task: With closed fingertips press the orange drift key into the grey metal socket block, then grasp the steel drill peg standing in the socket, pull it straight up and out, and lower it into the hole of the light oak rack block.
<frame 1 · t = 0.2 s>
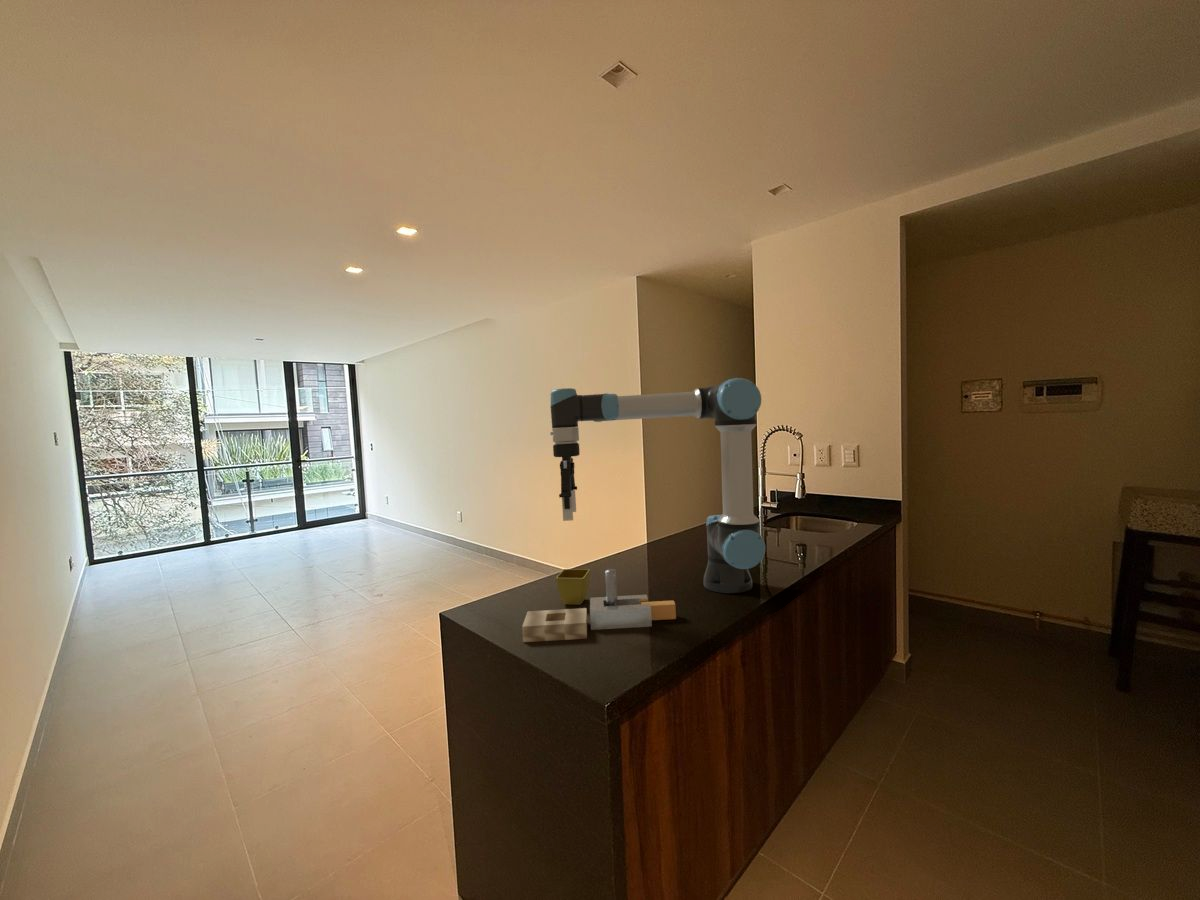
hand: (570, 516, 138), 28 cm above the table, fingers open, 13 cm apart
flower pot: (574, 602, 145), on the table
socket block: (620, 620, 129), on the table
rack block: (556, 631, 124), on the table
drift key: (658, 610, 130), point 2 cm above the table, slide at 0.0 cm
drill peg: (612, 621, 129), resting in socket block
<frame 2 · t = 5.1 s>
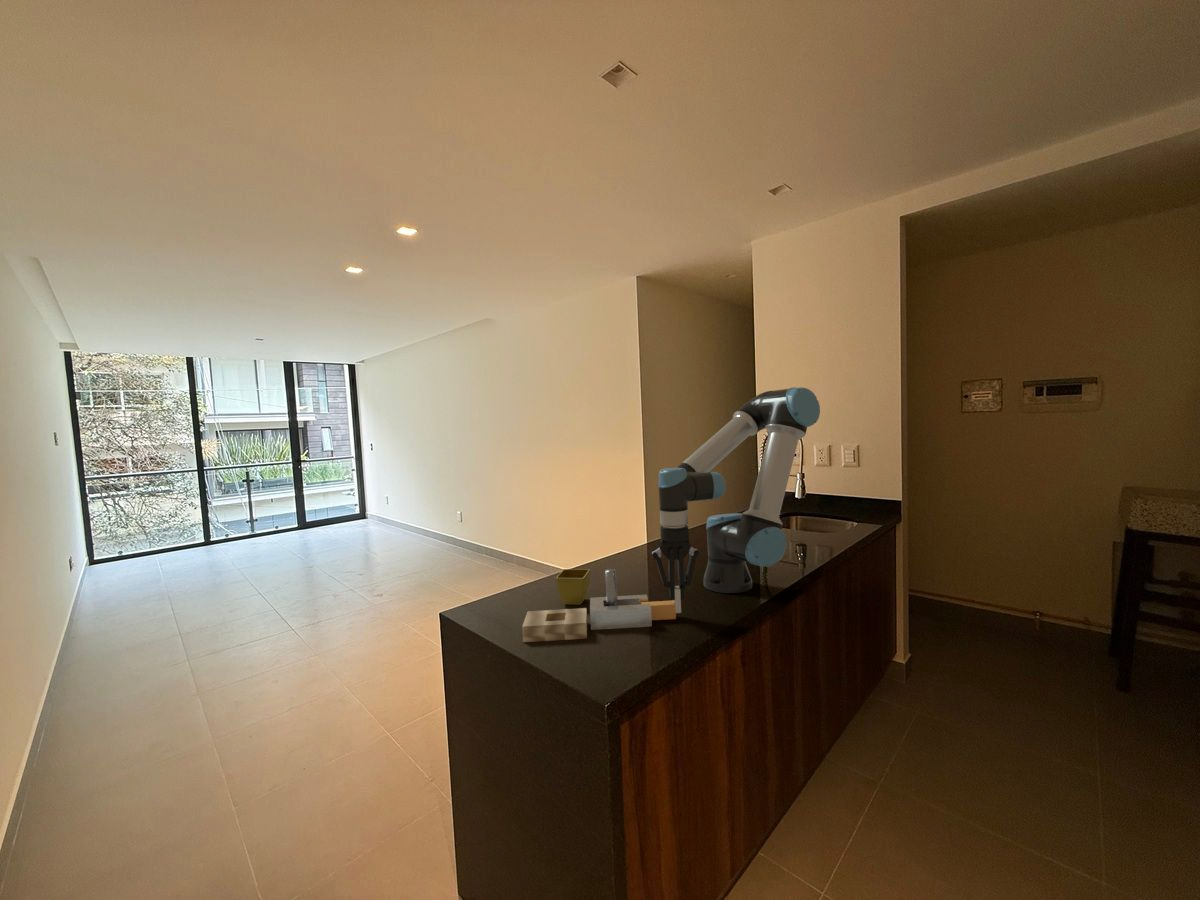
hand: (677, 611, 129), 2 cm above the table, fingers closed
drift key: (658, 610, 130), point 2 cm above the table, slide at 0.0 cm, touching gripper
everything else where it was.
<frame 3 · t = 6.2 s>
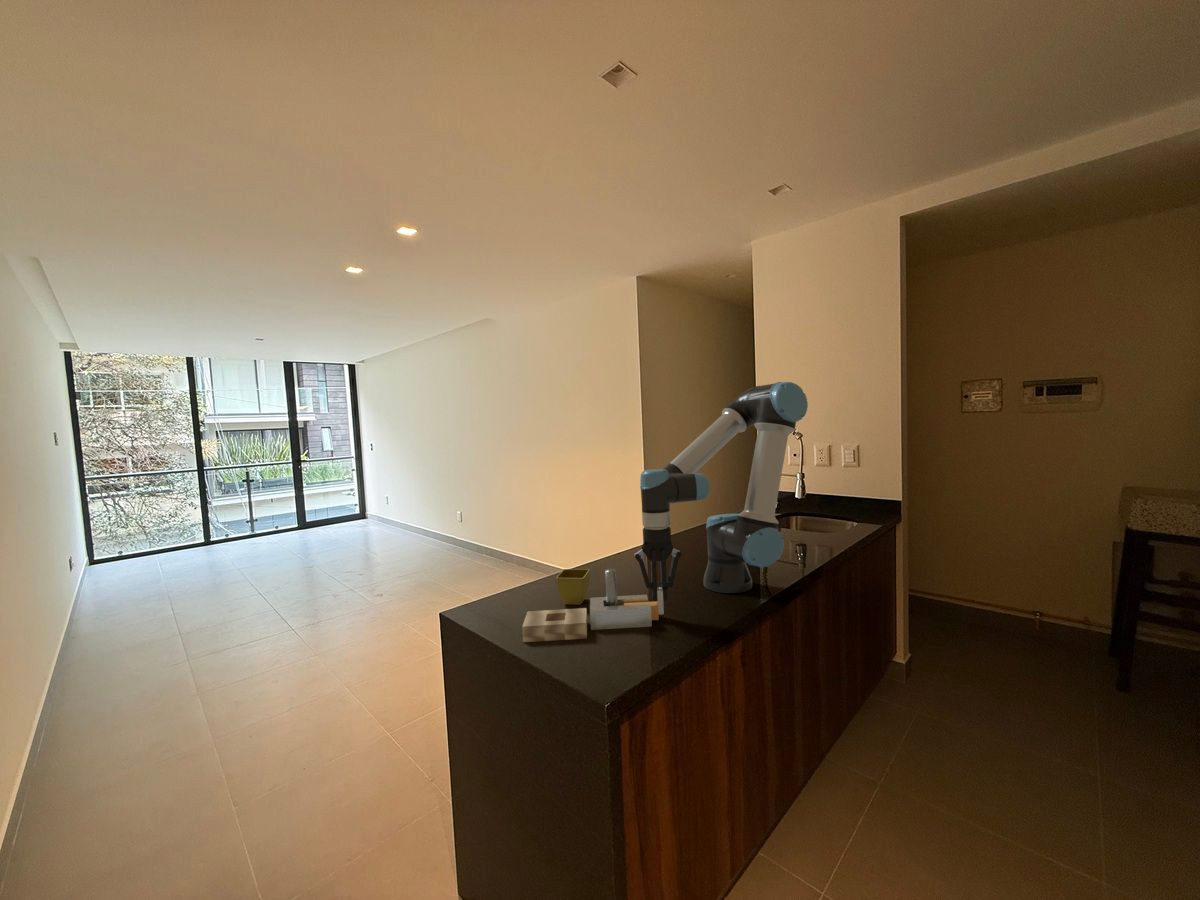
hand: (660, 612, 130), 2 cm above the table, fingers closed
drift key: (641, 611, 129), point 2 cm above the table, slide at 4.7 cm, touching gripper
everything else where it was.
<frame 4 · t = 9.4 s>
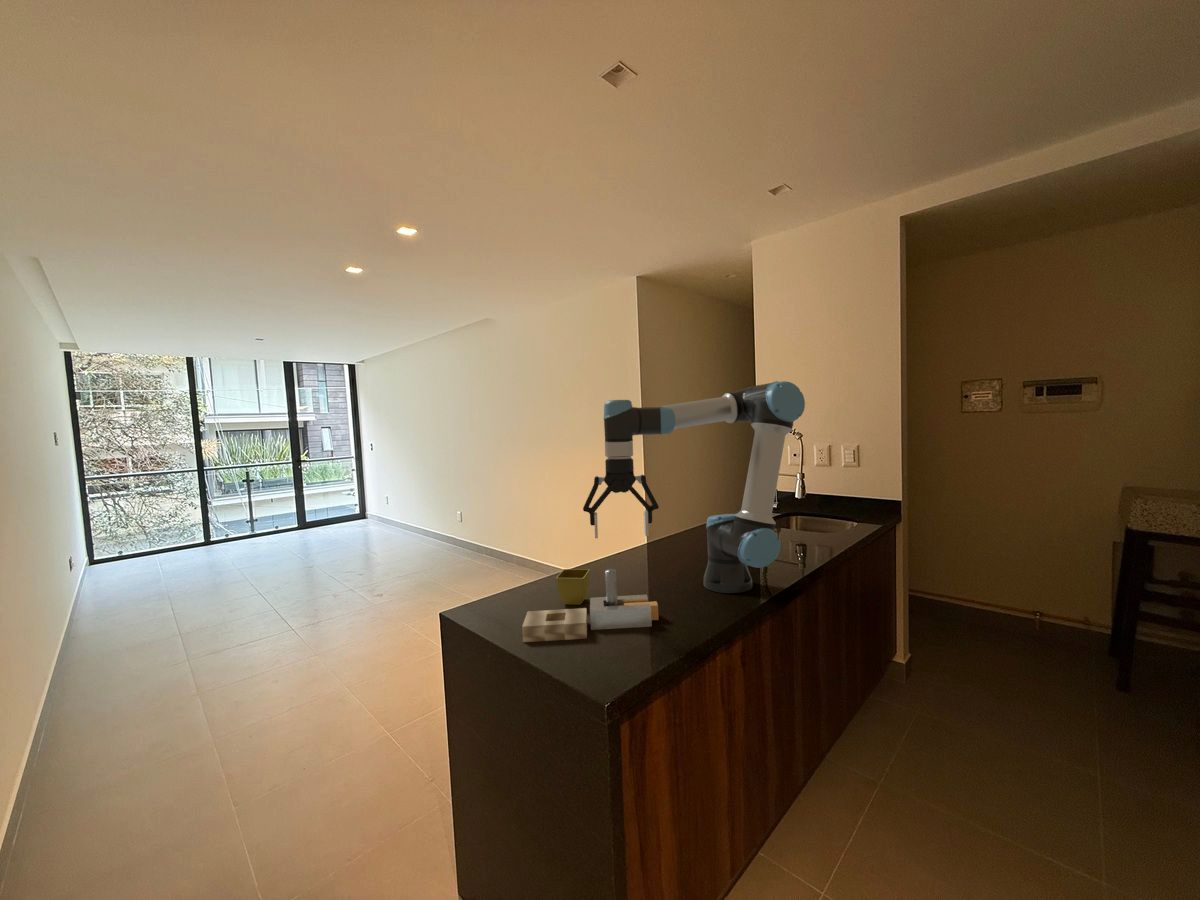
hand: (621, 536, 128), 23 cm above the table, fingers open, 13 cm apart
drift key: (641, 611, 129), point 2 cm above the table, slide at 4.7 cm
everything else where it was.
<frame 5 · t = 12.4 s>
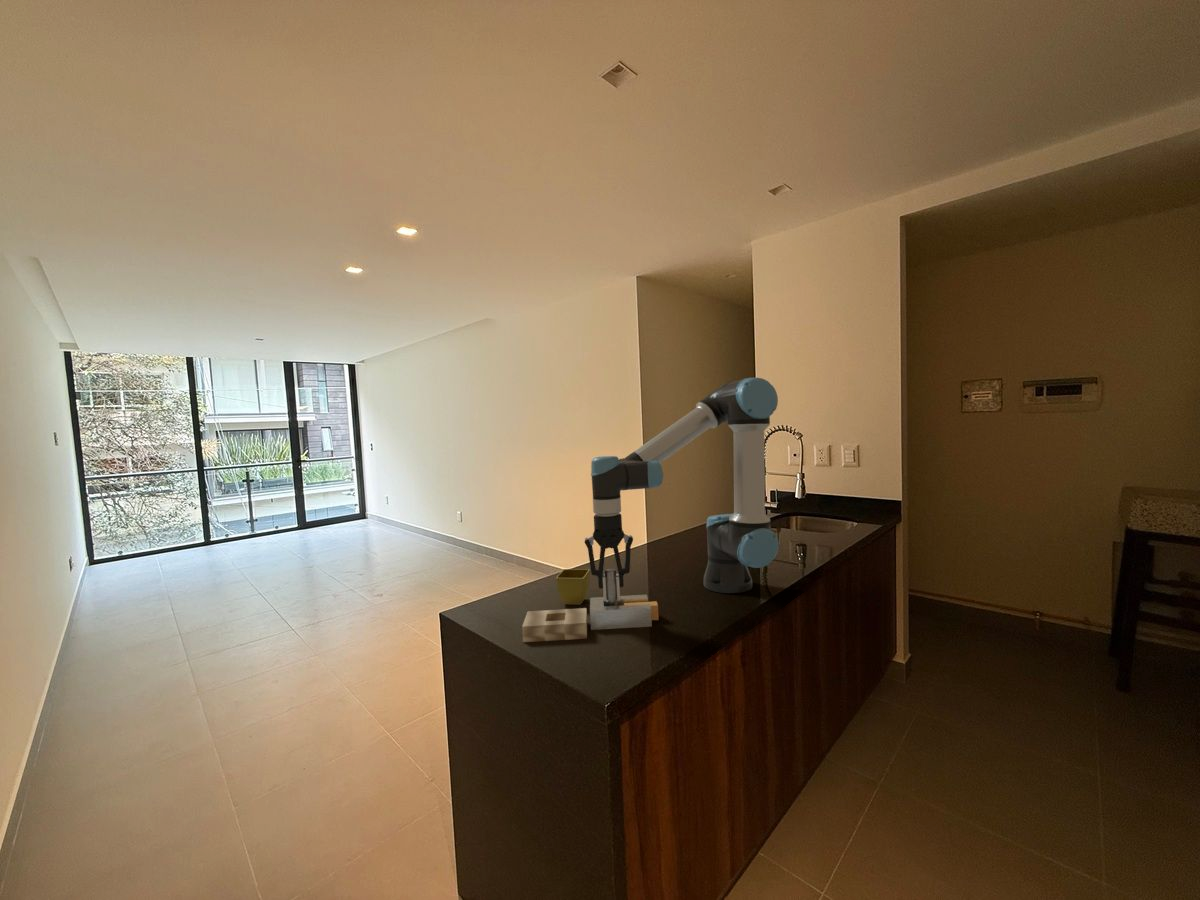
hand: (611, 599, 129), 6 cm above the table, fingers closed on drill peg, 3 cm apart
drill peg: (612, 621, 129), resting in socket block, touching gripper
everything else where it was.
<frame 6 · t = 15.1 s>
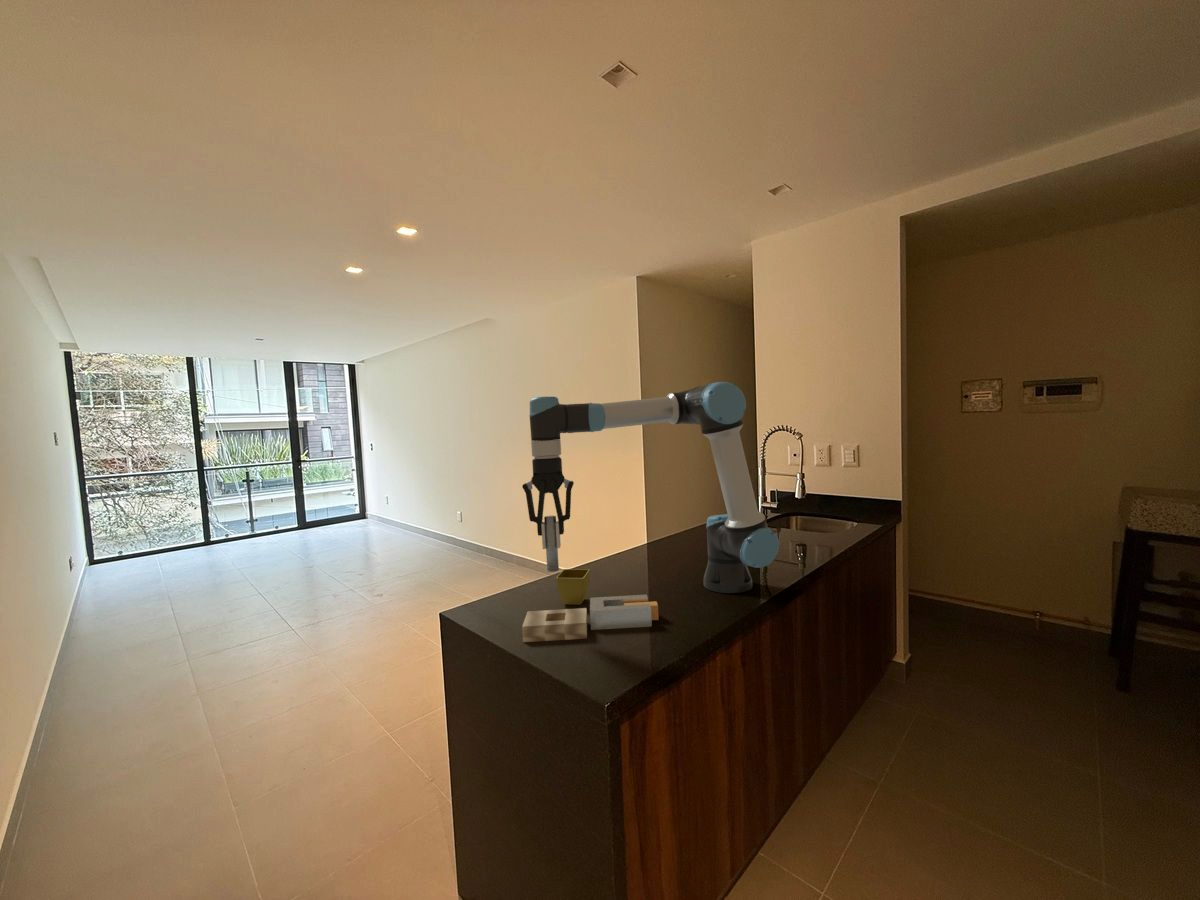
hand: (551, 547, 123), 22 cm above the table, fingers closed on drill peg, 3 cm apart
drill peg: (553, 570, 124), point 16 cm above the table, touching gripper
everything else where it was.
when the fingers open (8 cm above the table, at t = 18.0 s): drill peg drops 1 cm, resting in rack block.
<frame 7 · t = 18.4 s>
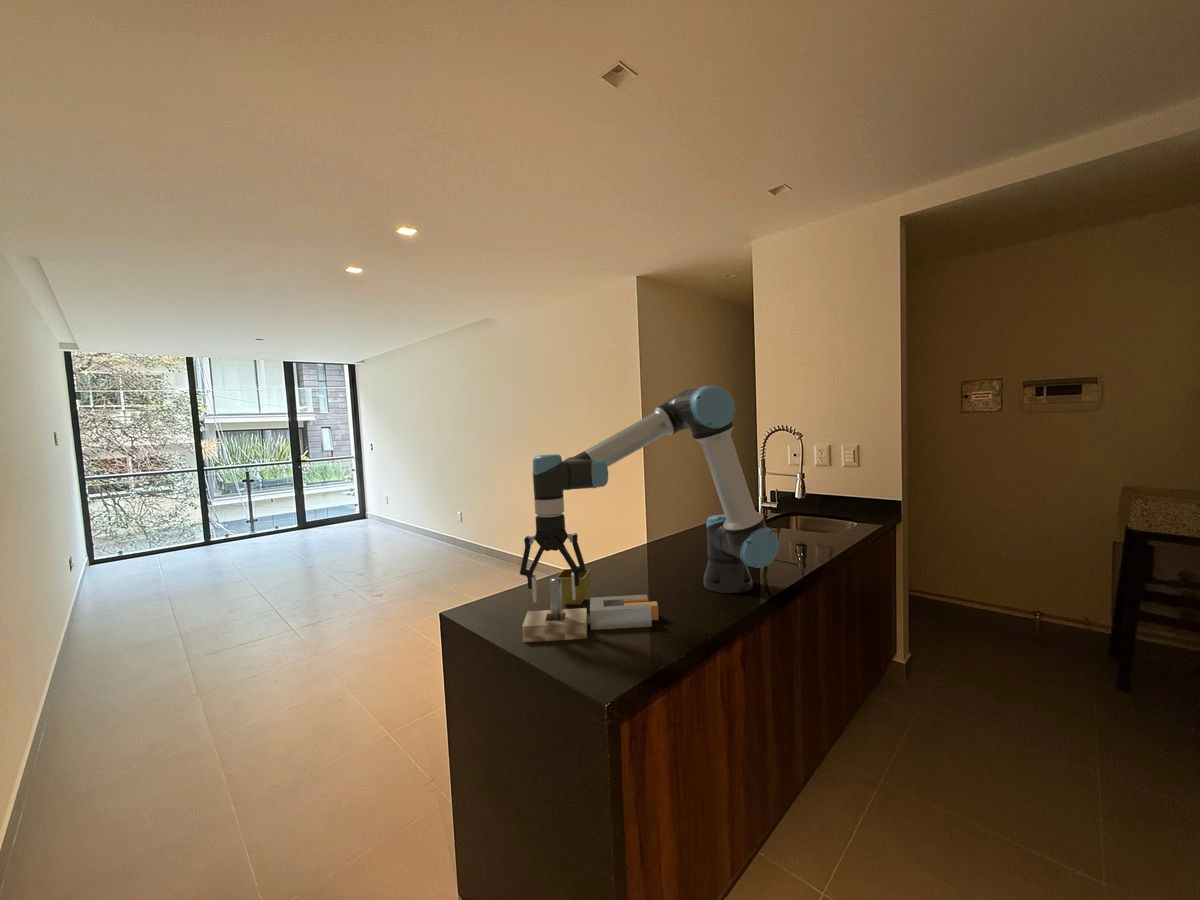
hand: (554, 599, 124), 9 cm above the table, fingers open, 9 cm apart
drill peg: (557, 631, 124), resting in rack block
everything else where it was.
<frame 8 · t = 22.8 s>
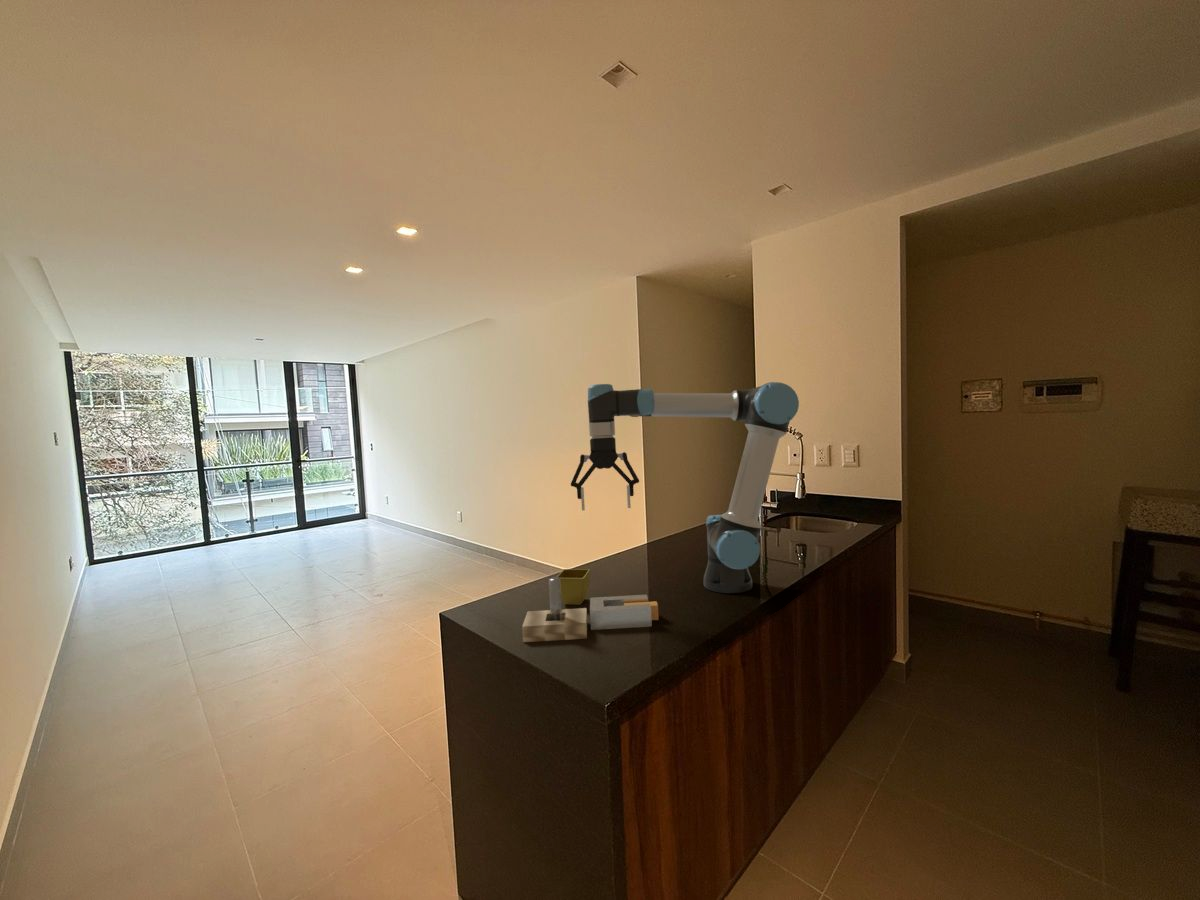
hand: (606, 508, 141), 29 cm above the table, fingers open, 13 cm apart
nothing on the table moved.
at the end: drift key slide at 4.7 cm; drill peg 0.2 cm off-centre on the rack block, point 0.0 cm above the rack block's base; drill peg tilted 1° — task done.
